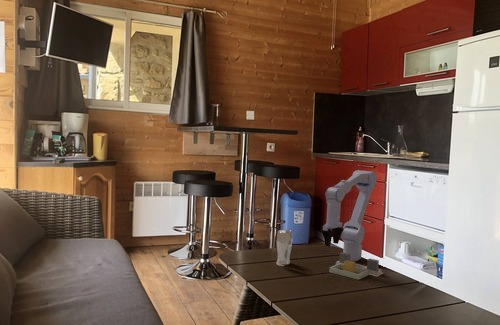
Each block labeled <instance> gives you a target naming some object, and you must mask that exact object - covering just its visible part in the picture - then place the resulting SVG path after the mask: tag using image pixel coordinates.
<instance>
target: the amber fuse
mask: <svg viewBox="0 0 500 325" xmlns="http://www.w3.org/2000/svg"><path fill="white" fill-rule="evenodd" d="M355 264H356V261H348V260H346V261H344V267H343V269H342V270H344V271H348V272H352V273H356V272H355Z"/></svg>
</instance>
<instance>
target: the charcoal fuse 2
mask: <svg viewBox="0 0 500 325" xmlns="http://www.w3.org/2000/svg"><path fill="white" fill-rule="evenodd" d="M379 261H380V260H378V259H374V258H367V264H366V266H367V269H369V270H373V271H378V269H379V265H380V262H379Z"/></svg>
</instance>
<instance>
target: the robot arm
mask: <svg viewBox="0 0 500 325" xmlns="http://www.w3.org/2000/svg"><path fill="white" fill-rule="evenodd" d="M377 180H378V179H377V174H376V172H375V171H372V170H371V171H368V170H361V169H360V170H359V169H357V170H355V171H353V173H352V175H351V176H350V177H349V178H348V179H345V180H344V179H342V180H340V182H338V183H337V184H334V186H331V187H330V186H329V187H328V188H327V189H326V191H325V194H324V195H325V199H326V204H327V207H326V223H325V224H324V225H323V226H322V228H321V229H320V233H321V234H322V237H323V241H324V246H325V247H331V244H332V243H333V244H335V245H338V244H339V242H340V239H342V243H343V249H342V250H343V251H342V252H343V253H347V254H350V261H352V262H358V261H359V260H361V259H362V253H363V252H362V251H363V245H362V242H363V241H364V238H365V231H366V229H365V228H364V226H363V225H362V223H363V219H364V216H365V214H366V210H367V206H368V204H369V201H370V198H371V195H372V191H374V189H375V186H376V184H377ZM354 186H355V187H356V188H357V189H358V190H359V192H358V196H357V199H356V201H355V205H354V208H353V211H352V215H351V216H350V220H348V221H346V222H345V223H344V225H343V222H340V220H341V207H342V206H341V204H342V201H343V200H344V198H345V196H346V194H348V193H349V192H351V191H352V187H354Z"/></svg>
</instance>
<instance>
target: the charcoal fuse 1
mask: <svg viewBox="0 0 500 325" xmlns="http://www.w3.org/2000/svg"><path fill="white" fill-rule="evenodd" d="M346 260H348V261H350V254H347V253H343V251H342V252H339V259H338V261H339V262H340V263H344V261H346Z"/></svg>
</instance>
